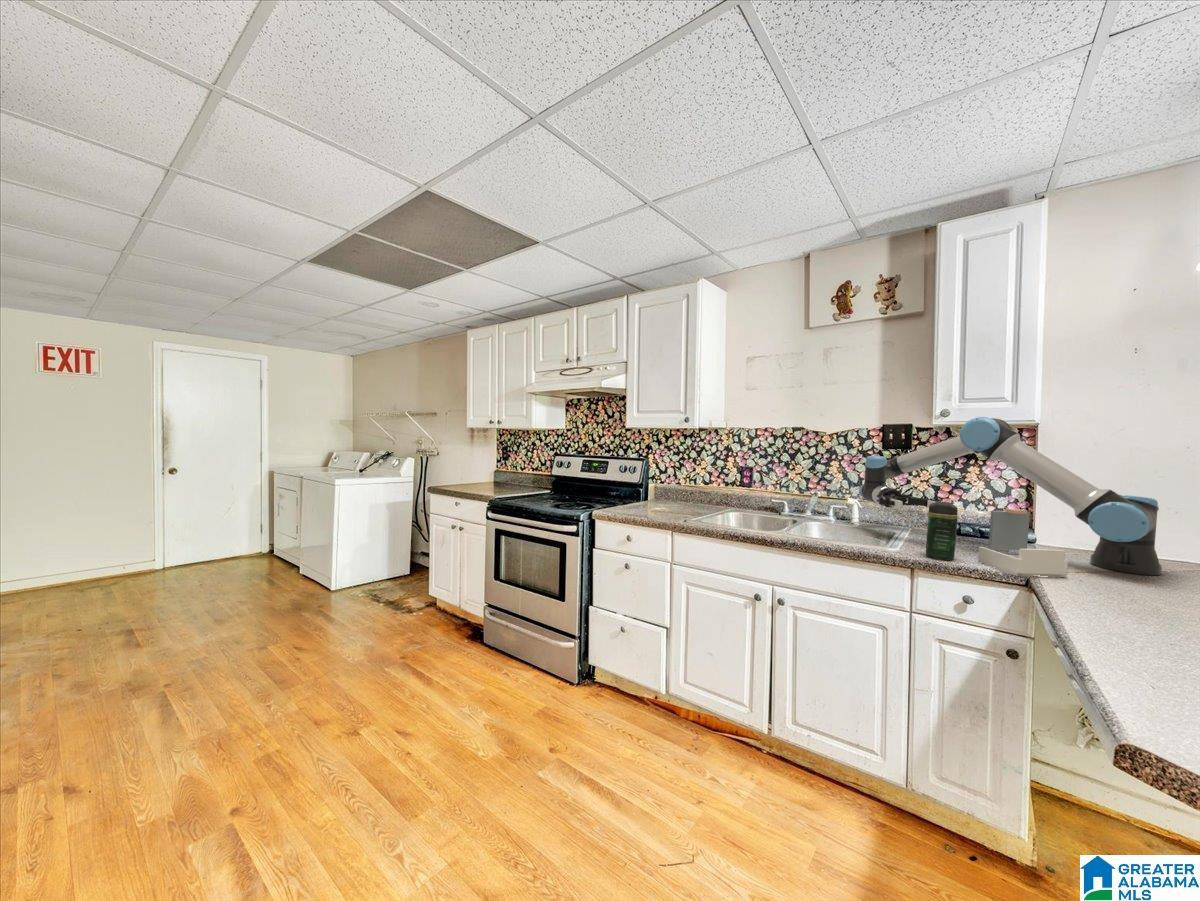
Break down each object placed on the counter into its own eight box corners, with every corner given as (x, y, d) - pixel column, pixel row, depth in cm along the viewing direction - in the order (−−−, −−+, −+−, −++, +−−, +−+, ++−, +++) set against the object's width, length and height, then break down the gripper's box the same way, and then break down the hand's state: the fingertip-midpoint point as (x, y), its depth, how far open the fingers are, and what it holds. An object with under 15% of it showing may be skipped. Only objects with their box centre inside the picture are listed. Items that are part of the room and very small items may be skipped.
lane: (1022, 563, 152) (1024, 538, 152) (1066, 578, 137) (1068, 550, 137) (978, 561, 153) (979, 537, 152) (1017, 576, 138) (1019, 549, 137)
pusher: (1024, 549, 150) (1027, 508, 149) (1035, 552, 146) (1038, 511, 145) (988, 548, 150) (991, 507, 150) (998, 551, 146) (1001, 510, 146)
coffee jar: (955, 562, 151) (958, 505, 150) (925, 558, 156) (928, 502, 155) (954, 556, 159) (957, 501, 158) (925, 552, 164) (929, 499, 163)
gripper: (918, 507, 189) (956, 518, 167) (854, 504, 189) (884, 515, 168) (919, 488, 188) (957, 497, 167) (855, 486, 189) (885, 494, 168)
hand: (921, 506), depth 168 cm, fingers open, 13 cm apart
